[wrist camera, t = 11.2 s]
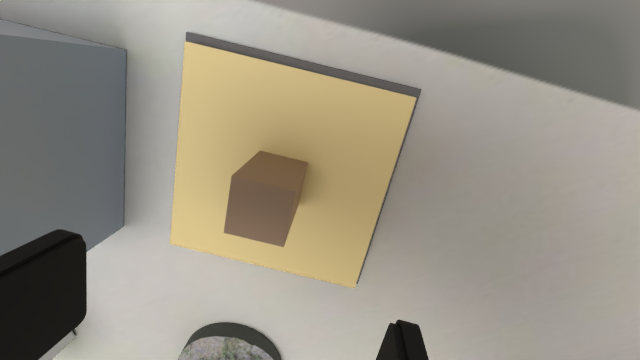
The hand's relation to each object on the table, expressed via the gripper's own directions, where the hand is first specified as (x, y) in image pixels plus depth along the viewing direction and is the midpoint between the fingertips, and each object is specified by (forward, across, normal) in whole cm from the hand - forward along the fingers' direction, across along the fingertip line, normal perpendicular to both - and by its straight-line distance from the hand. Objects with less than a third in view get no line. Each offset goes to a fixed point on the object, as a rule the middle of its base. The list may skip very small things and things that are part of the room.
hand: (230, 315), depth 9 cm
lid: (+12, +1, -1) cm, 12 cm away
